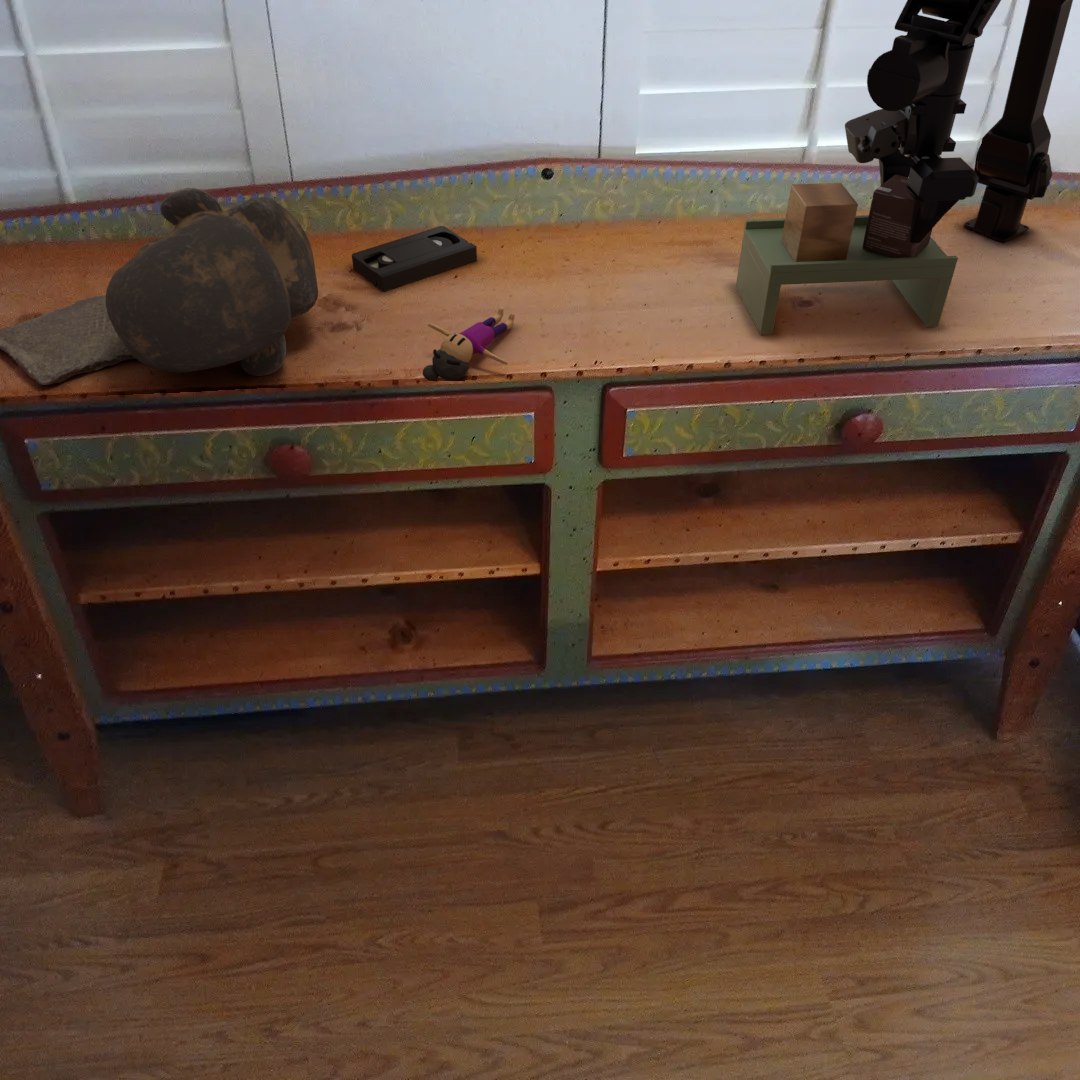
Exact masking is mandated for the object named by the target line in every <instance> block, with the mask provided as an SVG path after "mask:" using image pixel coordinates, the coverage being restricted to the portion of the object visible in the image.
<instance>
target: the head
mask: <svg viewBox="0 0 1080 1080" xmlns="http://www.w3.org/2000/svg"><path fill="white" fill-rule="evenodd" d="M159 210H160V214H161V215H162V217H163V218H164V220H166V221H167V222H168V223H170V224H172V225H173V226H174V228H173V230H172V231H170V232H169V233H168V234H166V235H165V236H161V237H160V238H157V239H154V240H151V241H149V242H147V243H145V244H144V245H143V246H142V247H141V248H139V250H138V251H137V253H136V254H135V255H134V256H133V257H132V258H131V259H129V260H128V261H127V262H126V263H125V264H123V265H122V266H121V267H119V268H118V269H116V270H115V272H114V273H113V275H112V276H111V279H110V280H109V283H108V285H107V287H106V292H105V296H106V309H107V313H108V317H109V319H110V321H111V323H112V325H113V327H114V329H115V331H116V333H117V335H118V336H119V338H120V340H121V341H122V343H123V345H124V346H125V347H126V349H127V350H128V351H129V352H130V353H131V355H132V356H134V357H135V359H136V360H137V361H139V362H140V363H141V364H143V365H145V366H147V367H149V368H151V369H153V370H157V371H161V372H167V373H178V374H180V373H192V372H197V371H203V370H204V371H205V370H209V369H214V368H218V367H224V366H226V365H227V366H228V365H231V364H233V363H237V362H239V363H240V367H241V368H242V370H243V371H244V372H245V373H246V374H249V375H251V376H257V377H261V376H268V375H271V374H272V373H274V372H277V371H278V370H279V369H280V368H281V367H283V364H284V362H285V360H286V358H287V357H286V356H287V342H286V337H285V333H286V332H287V331H288V330H289V327H290V325H291V322H292V320H293V319H295V318H298V317H300V316H303V315H305V314H306V313H308V312H310V310H311V309H312V308H313V307H314V306H315V304H316V302H317V300H318V296H319V286H318V280H317V273H316V265H315V259H314V252H313V249H312V245H311V242H310V240H309V237H308V236H307V233H306V231H305V230H304V228H303V227H302V226H301V223H299V221H298V220H297V218H295V216H294V215H293V214H291V212H290V211H288V210H287V209H286V208H285V207H283V205H281V204H280V203H278V202H277V201H276V200H275V199H273V198H270V197H261V196H257V197H254V198H253V197H252V198H249V199H248V200H245V201H243V202H241V203H240V204H237V205H236V206H234V207H231V208H229V209H227V210H223V208H222V207H221V205H220V203H219V202H218V201H217V199H216V198H215V197H213V196H212V195H211V194H210V193H208V192H207V191H205V190H203V189H199V188H196V187H186V188H183V189H178V190H175V191H174V192H172V193H170V194H169V195H168V196H167V197H165V198H164V199H163V201H162V202H161V204H160V206H159Z"/></svg>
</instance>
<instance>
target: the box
mask: <svg viewBox="0 0 1080 1080" xmlns="http://www.w3.org/2000/svg"><path fill="white" fill-rule="evenodd" d="M906 186H910V185H909V177H904V176H900V175H897V174H896V175H894V176H893V177H892V178H890V179H889V180H888V181H886V182H885V183H884V184H882V185H881V184H880V186H878V187H877V188H876V189H874V190H873V193H872V199H871V203H870V208H869V213H868V215H869V217H868V222H867V226H866V231H865V236H864V241H863V247H862V249H866V250H869V251H872V252H876V253H879V254H883V255H886V256H890V257H893V258H913V257H915V256H916V255H917V254H918V253H919V252H921V251H922V250H923V249H924V248H925V247H926V246H927V245H928V244H929V241H930V237H931V238H932V232H933V230H934V227H933V228H932V230H931V231H930V232H929V233H928V234H927V235H926V237H925V238H924V239H923V240H922V241H921V242H920V243H911V242H910V235H911V225H912V217H913V209H914V202H915V200H914V198H913V197H912V195H911V194H910V193H909V191H908V190H907V189H906Z"/></svg>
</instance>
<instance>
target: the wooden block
mask: <svg viewBox="0 0 1080 1080" xmlns="http://www.w3.org/2000/svg"><path fill="white" fill-rule="evenodd" d="M858 207H859V204H858V203H857V201H856V200H855V198H854V197H853V195H852V194H851V193H850V192H849V191H848V189H847V188H846V187H845V185H844V184H843V183H842V182H825V183H824V182H821V183H794V184H793V183H792V184H790V188H789V195H788V200H787V206H786V211H785V212H786V213H785V223H784V229H783V235H782V242H783V244H784V246H785V247H786V249H787V251H788V252H789V254H790V255H791V257H792V259H793V260H794V262H813V261H838V260H846V258H847V253H848V249H849V244H850V239H851V235H852V230H853V226H854V221H855V216H857V212H858Z"/></svg>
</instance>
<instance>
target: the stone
mask: <svg viewBox="0 0 1080 1080" xmlns="http://www.w3.org/2000/svg"><path fill="white" fill-rule="evenodd" d="M0 350H2V351H3V352H5V353H6V354H7V355H8V356H9V357H10V358H12V360H14V361H15V362H16V364H17V365H18V366H19V367H20V368H21V370H22V371H24V372H25V373H26V374H27V375H28V376H29V377H30V378H32V379H33V380H34V381H35V382H36V383H37V384H39V385H42V386H49V385H53V384H60V383H62V382H64V381H66V380H68V379H69V378H71V377H74V376H76V375H80V374H85V373H91V372H94V371H95V372H96V371H99V370H101V369H103V368H105V367H109V366H113V365H116V364H118V363H121V362H124V361H129V360H134V359H136V358H135V357H134V356H132V355H131V353H130V352H129V351H128V350H127V349H126V347H125V346H124V345H123V343H122V341H121V340H120V338H119V336H118V335H117V333H116V331H115V329H114V327H113V325H112V323H111V321H110V319H109V317H108V313H107V309H106V295H96V296H93V297H87V298H85V299H80V300H77V301H75V302H74V303H73V304H71V305H67V306H65V307H62V308H58V309H54V310H52V311H48V312H45V313H43V314H41V315H39V316H37V317H35V318H31V319H28V320H23V321H21V322H19V323H15V324H13V325H10V326H7V327H4V328H0Z"/></svg>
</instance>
